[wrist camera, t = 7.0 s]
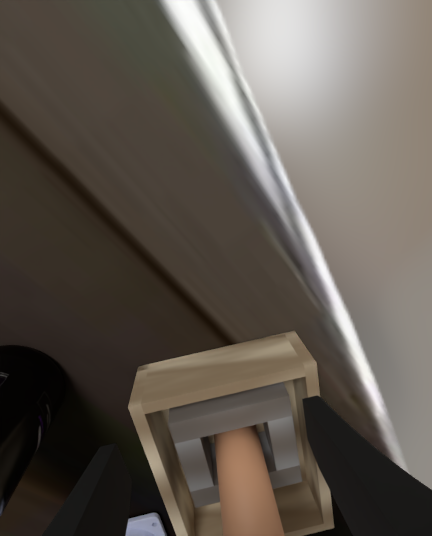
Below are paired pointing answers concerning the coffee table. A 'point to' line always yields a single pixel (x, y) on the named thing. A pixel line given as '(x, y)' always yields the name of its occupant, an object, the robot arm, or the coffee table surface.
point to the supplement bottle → (24, 410)
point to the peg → (245, 485)
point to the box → (230, 418)
